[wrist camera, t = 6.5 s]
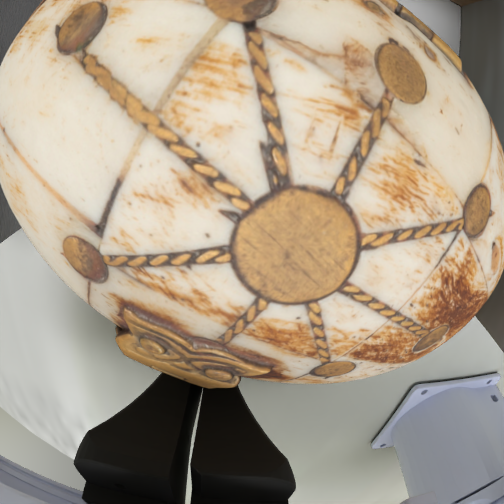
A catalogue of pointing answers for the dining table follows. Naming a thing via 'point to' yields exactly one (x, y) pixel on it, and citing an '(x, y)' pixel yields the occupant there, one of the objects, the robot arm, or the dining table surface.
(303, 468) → the dining table surface
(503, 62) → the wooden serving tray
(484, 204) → the trinket box
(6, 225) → the bookend
